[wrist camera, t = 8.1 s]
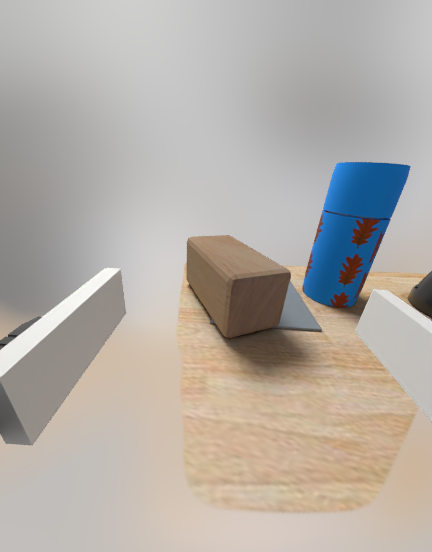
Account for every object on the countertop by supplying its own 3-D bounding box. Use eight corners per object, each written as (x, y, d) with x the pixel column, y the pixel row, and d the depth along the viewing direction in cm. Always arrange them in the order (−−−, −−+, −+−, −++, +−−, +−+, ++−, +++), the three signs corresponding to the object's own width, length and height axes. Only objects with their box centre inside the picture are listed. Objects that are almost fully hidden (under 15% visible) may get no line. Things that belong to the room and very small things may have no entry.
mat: (285, 276, 54) (285, 274, 54) (321, 331, 35) (321, 329, 35) (214, 271, 54) (214, 269, 53) (210, 323, 35) (210, 321, 34)
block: (295, 270, 30) (230, 233, 46) (231, 278, 26) (185, 235, 42) (281, 327, 34) (226, 275, 51) (224, 342, 30) (185, 280, 47)
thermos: (299, 279, 53) (330, 165, 42) (347, 287, 50) (392, 169, 40) (304, 301, 43) (345, 160, 32) (363, 313, 41) (428, 165, 30)
